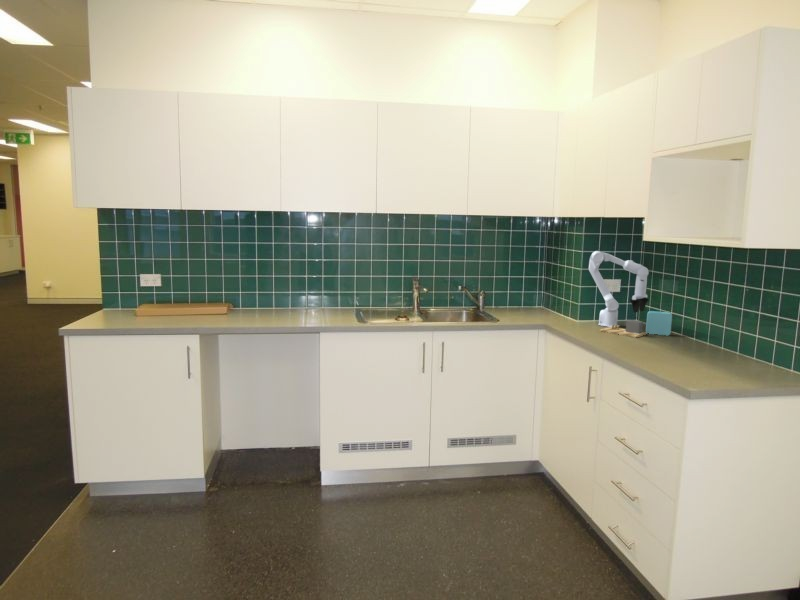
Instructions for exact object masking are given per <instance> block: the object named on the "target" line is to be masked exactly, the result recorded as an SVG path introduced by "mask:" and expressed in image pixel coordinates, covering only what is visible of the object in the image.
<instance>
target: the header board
mask: <svg viewBox="0 0 800 600" xmlns="http://www.w3.org/2000/svg"><path fill="white" fill-rule="evenodd" d="M616 326H617V327H616ZM601 331H603V333H607V332H608V333H607V334H612V333H614V334H613V335H618V334H619V336H623V335H625V336H624V337H629V336H630V338H635V337H637V338H640V337H643V335H644V336H647V335H648V334H647V333H646V331H644V332H643V331H642V333H640V334H636V333H630V332H625V331H626V328H622V327H620V326H619V324H617V325H615V327H614V325H613V324H612V327H604V328H600V329H599V332H601ZM646 334H647V335H646Z"/></svg>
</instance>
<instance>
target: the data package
mask: <svg viewBox="0 0 800 600" xmlns="http://www.w3.org/2000/svg"><path fill="white" fill-rule="evenodd" d="M672 322H673V314H672V313H671V312H666V311H656V310H655V311H654V310H649V311H647V314H646V324H645V325H646V326H645V333H649V334H648V335H654V334H658V335H657V336H664V335H666V336H665V337H667V336H670V335H671V331H672Z"/></svg>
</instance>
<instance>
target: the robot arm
mask: <svg viewBox="0 0 800 600" xmlns="http://www.w3.org/2000/svg"><path fill="white" fill-rule="evenodd" d="M603 262H611V263H614V264H616V265H619V266H622V268H623V270H624V271H628V272H630V273H632V274H634V275H635V274H636V277H635V287H634V295H632V297H631V298H630V300H629V301H630V303H631V306H632V311H633V313H638V312H644V311H645V309H646V305H647V304H648V301H649V299H650V298H648V294H647V285H648V276H649V269H648V268H647V267H646V266H644V265H642V264H641V263H636V262H635V261H634V260H632V259H630V260H629V259H628V260H623V259H621V258H619V257H616V256H614V255H613V254H610V253H608V252H607V253H606V252H602V251H600V250H595V251H593V252H592V253H591V255H590V257H589V261H588V271H589V273H590V275H591V277H592V279H593V281H594V283H595V285H596V286H597V288H598V290H599V292H600V293H601V295H602V297H603V299H604V302H605V303H604V304H605V308H604V309H601V310H600V311H599V316H598V317H599V318H598V324H597V325H598V326H602V327H606V328H608V327H612V324H613V325H614V327H615V325H619V324H618V318H619V310H618V309H619V307H620V304H619V302H618V301H617V300H616V299H615V298H614V296H613V295H612V293H611V291H610V290H609V288H608V286H607V283H606V282H605V280H604V278H603V276H602V273H600V271H599V267H600V265H601V264H602V263H603ZM620 326H621V325H619V327H620ZM616 328H617V326H616Z"/></svg>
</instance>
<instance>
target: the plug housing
mask: <svg viewBox="0 0 800 600" xmlns="http://www.w3.org/2000/svg"><path fill="white" fill-rule="evenodd" d="M625 322H626V323H625V329H626V331H625V332H630V333H636V334H640V333H642V332H643V321H638V320H633V319H628V320H626V321H625Z"/></svg>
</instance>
